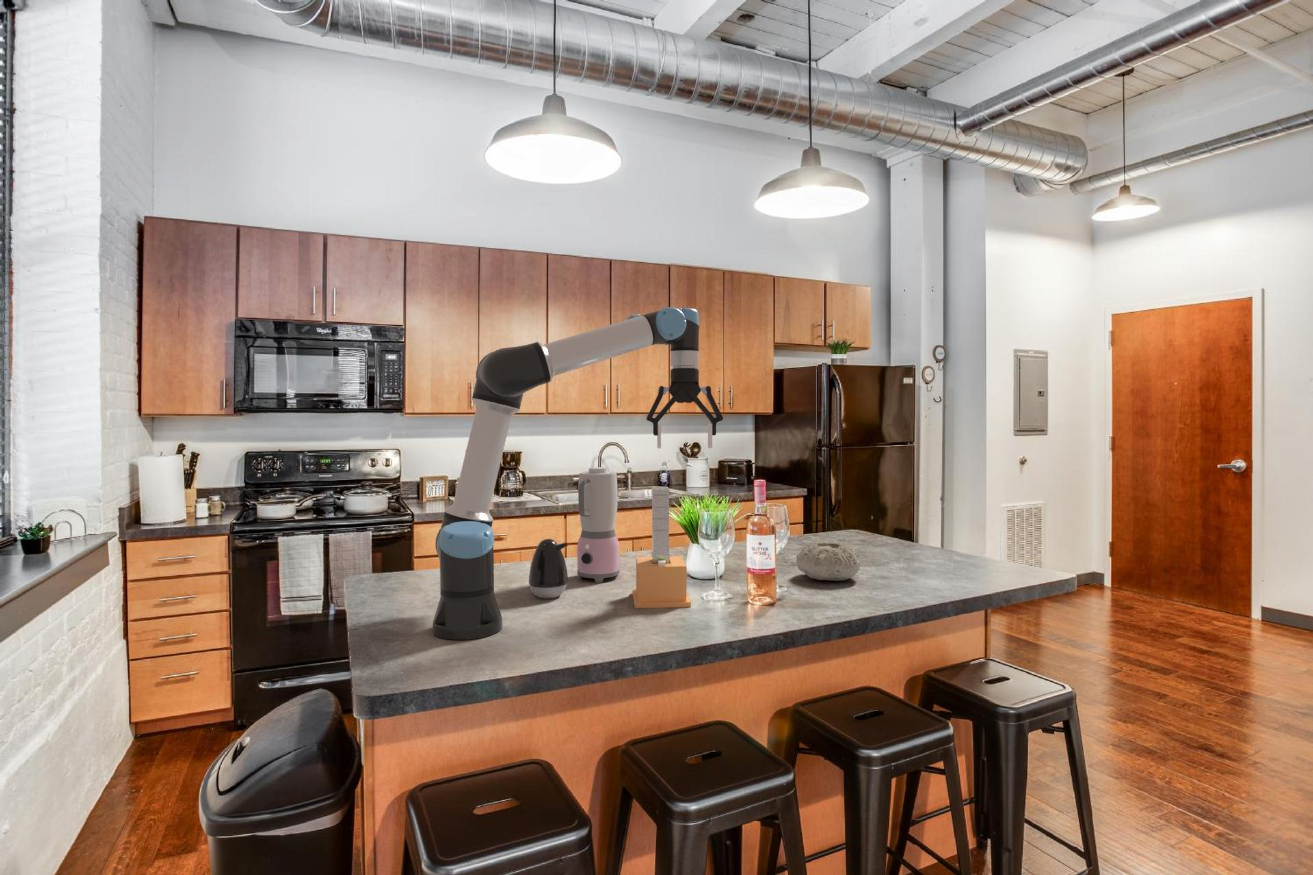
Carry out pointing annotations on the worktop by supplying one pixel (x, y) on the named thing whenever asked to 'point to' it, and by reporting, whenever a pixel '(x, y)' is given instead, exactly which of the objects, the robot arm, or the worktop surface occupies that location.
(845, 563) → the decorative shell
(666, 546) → the column
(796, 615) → the worktop surface
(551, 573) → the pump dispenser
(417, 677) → the worktop surface
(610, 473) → the blender
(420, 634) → the worktop surface
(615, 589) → the worktop surface
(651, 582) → the housing
